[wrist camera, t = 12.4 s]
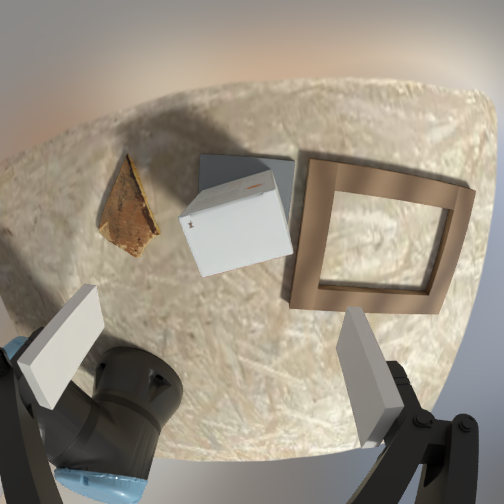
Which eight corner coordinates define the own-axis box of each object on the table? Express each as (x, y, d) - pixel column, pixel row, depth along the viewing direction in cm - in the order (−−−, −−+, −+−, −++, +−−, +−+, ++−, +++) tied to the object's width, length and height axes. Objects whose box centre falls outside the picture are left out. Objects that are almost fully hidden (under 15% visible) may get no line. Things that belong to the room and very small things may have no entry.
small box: (217, 235, 35) (199, 280, 25) (201, 189, 33) (174, 217, 23) (286, 216, 34) (295, 256, 24) (272, 167, 32) (276, 187, 22)
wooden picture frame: (288, 303, 39) (289, 308, 38) (308, 158, 32) (310, 159, 31) (435, 309, 39) (438, 314, 38) (470, 188, 32) (475, 191, 31)
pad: (198, 239, 36) (197, 241, 35) (201, 153, 32) (200, 154, 32) (284, 247, 36) (284, 249, 35) (294, 161, 32) (294, 161, 31)
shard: (132, 152, 33) (125, 154, 31) (187, 183, 34) (183, 186, 32) (100, 228, 36) (94, 233, 35) (149, 257, 38) (144, 264, 36)
